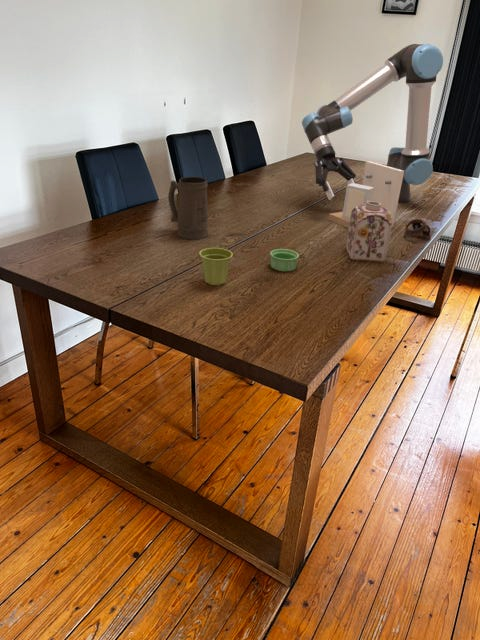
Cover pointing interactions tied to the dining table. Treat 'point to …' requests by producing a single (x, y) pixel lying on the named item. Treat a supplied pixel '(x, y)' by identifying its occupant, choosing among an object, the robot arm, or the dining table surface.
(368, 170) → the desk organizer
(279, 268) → the ramekin
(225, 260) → the plant pot
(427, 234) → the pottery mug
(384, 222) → the decorative jar
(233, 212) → the dining table surface
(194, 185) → the beer stein
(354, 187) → the white block
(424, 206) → the dining table surface
